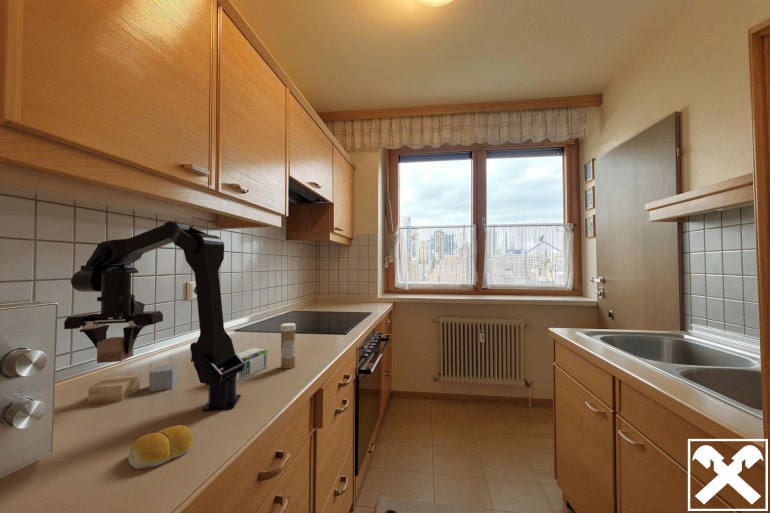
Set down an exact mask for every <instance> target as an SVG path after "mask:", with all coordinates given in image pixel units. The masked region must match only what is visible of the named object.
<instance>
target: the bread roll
mask: <svg viewBox="0 0 770 513" xmlns="http://www.w3.org/2000/svg"><path fill="white" fill-rule="evenodd" d="M193 443H194V433H193V431H192V429H191V428H190V427H188V426H186V425H182V424H177V425H173V426H172V425H171V426H169V427H166V428H163V429H161V430H159V431H157V432H153V433H148V434H144V435H142V436H140V437H139V438H137V439H136V440H135V441H134V442H133V443H132V445H131V448H130V450H129V453H128V456H127V461H128V462H129V465H130V466H131V467H132V468H134V469H136V470H137V469H138V470H143V469H142V468H144V469H149V468H148V467H150V468H154V467H157V466H160V465H162V464H165V463H166V462H169V461H170V460H171V459H176V458H179V457H181V456H183V455H185V454H186V453H187V452H189V450H190V449H191V447H192V445H193ZM153 466H154V467H153Z"/></svg>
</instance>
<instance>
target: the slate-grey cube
mask: <svg viewBox="0 0 770 513" xmlns="http://www.w3.org/2000/svg"><path fill="white" fill-rule="evenodd" d="M148 377H149V379H148V380H149V385H148V387H149V388H148V390H149V391H148V392H149V393H150V392H151V391H152V392H158V391H157V390H159V391H164V390H163V389H167V390H172V388H173V389H174V387H175V386H176V385H177V383H178V364H177V363H176V364H168V365H159V366H155V367H154V368H152V370H150V372H149V376H148ZM175 384H176V385H175Z"/></svg>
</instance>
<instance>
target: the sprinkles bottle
mask: <svg viewBox="0 0 770 513" xmlns="http://www.w3.org/2000/svg"><path fill="white" fill-rule="evenodd" d="M280 335H281V336H280V357H281V358H280V363H281V364H280V368H281V369H292V368H294V367H296V323H294V322H287V323H282V324H280Z"/></svg>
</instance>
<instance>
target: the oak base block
mask: <svg viewBox="0 0 770 513" xmlns="http://www.w3.org/2000/svg"><path fill="white" fill-rule="evenodd" d="M140 380H141V379H140V374H137V375H121V376H109V377H106V378H104V379H103V380H101V381H99V382H97V383H95V384H93V385H91V386H89V387H88V391H87V392H88V395H87V397H88V399H87V400H88V401H87V403H88V404H89V405H90V404H92V405H93V404H102V403H114V402H123V401H124V400H126V399H128V398H129V397H131V396H132V395H133V394H135V393H136V392H138V391H139V390H140V389H141V388H140V386H141V384H140V382H141V381H140Z"/></svg>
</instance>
